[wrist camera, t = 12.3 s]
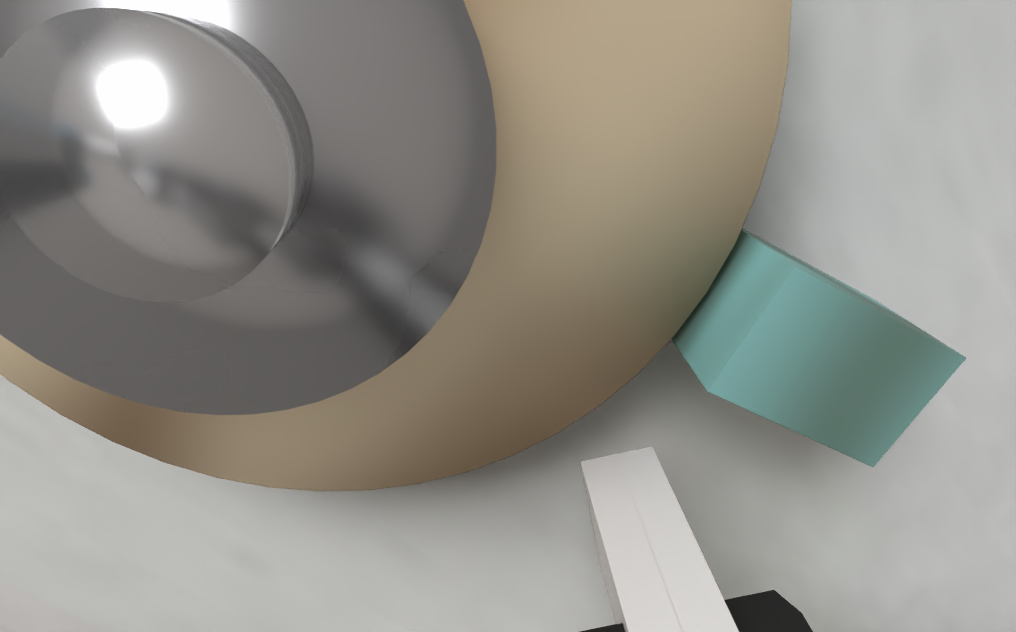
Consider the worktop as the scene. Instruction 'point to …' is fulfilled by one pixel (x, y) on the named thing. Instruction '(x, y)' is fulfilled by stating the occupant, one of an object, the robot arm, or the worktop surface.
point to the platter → (586, 272)
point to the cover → (237, 191)
